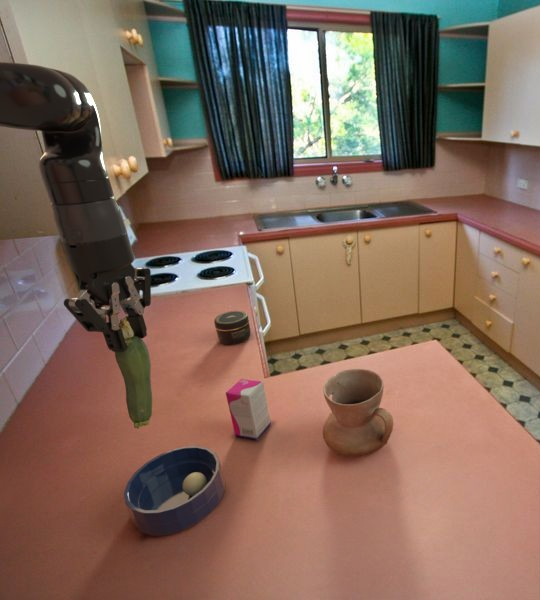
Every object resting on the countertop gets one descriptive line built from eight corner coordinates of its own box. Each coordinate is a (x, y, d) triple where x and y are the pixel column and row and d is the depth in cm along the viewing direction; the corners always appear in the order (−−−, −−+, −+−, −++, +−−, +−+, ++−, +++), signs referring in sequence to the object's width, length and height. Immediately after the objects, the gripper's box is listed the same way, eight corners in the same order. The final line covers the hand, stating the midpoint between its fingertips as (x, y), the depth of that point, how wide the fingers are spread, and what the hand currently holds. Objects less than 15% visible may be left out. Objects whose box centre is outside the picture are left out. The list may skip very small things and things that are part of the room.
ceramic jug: (306, 441, 91) (298, 386, 85) (354, 407, 101) (350, 356, 95) (366, 483, 80) (361, 423, 75) (414, 440, 90) (413, 384, 85)
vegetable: (134, 417, 72) (110, 309, 64) (163, 413, 73) (143, 307, 65) (128, 434, 68) (103, 322, 60) (159, 430, 69) (138, 319, 62)
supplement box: (271, 423, 97) (264, 380, 92) (257, 440, 92) (248, 397, 87) (249, 419, 98) (240, 377, 94) (234, 436, 93) (224, 393, 89)
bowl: (140, 556, 68) (129, 530, 66) (129, 494, 80) (120, 470, 77) (236, 507, 76) (229, 482, 74) (213, 457, 88) (207, 434, 85)
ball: (179, 499, 77) (199, 502, 76) (176, 480, 76) (196, 482, 75) (193, 485, 81) (212, 487, 80) (190, 466, 80) (210, 468, 79)
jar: (214, 338, 136) (209, 316, 132) (244, 328, 141) (240, 307, 138) (225, 349, 129) (220, 327, 125) (257, 338, 134) (253, 316, 131)
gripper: (110, 221, 65) (140, 322, 72) (20, 247, 52) (68, 367, 59) (154, 221, 64) (181, 324, 71) (74, 248, 51) (116, 371, 58)
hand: (129, 343), depth 65 cm, fingers closed on vegetable, 3 cm apart
